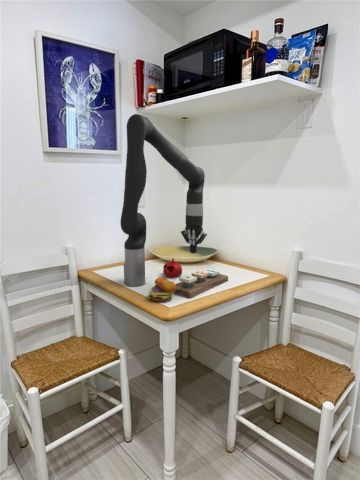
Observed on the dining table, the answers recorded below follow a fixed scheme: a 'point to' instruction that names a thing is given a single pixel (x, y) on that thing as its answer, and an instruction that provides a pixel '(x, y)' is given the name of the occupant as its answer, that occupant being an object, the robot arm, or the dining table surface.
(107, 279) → the dining table surface
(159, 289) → the cheeseburger
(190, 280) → the key one
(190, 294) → the key board
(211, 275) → the key three
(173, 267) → the pomegranate
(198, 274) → the key two
